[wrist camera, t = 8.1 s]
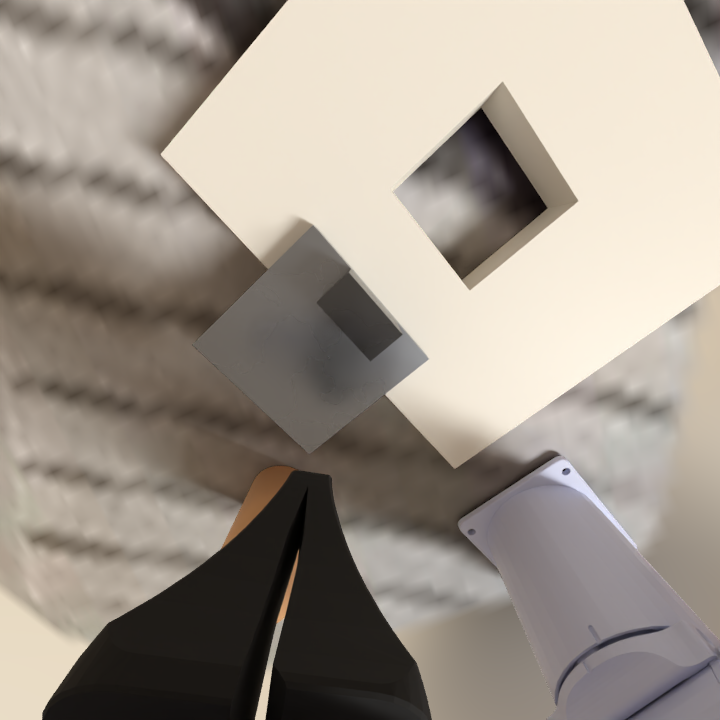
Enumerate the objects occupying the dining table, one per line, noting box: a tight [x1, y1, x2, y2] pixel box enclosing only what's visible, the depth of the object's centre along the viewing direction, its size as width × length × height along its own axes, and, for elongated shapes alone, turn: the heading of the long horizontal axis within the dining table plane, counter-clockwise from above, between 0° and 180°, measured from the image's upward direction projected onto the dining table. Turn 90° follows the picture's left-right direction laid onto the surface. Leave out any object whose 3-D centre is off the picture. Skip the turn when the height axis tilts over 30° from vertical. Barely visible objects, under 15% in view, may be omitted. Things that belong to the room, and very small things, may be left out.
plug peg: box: [221, 466, 299, 623], centre depth 18 cm, size 4×4×8 cm
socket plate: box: [161, 0, 720, 469], centre depth 15 cm, size 20×18×2 cm
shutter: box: [192, 225, 429, 454], centre depth 15 cm, size 8×8×3 cm
